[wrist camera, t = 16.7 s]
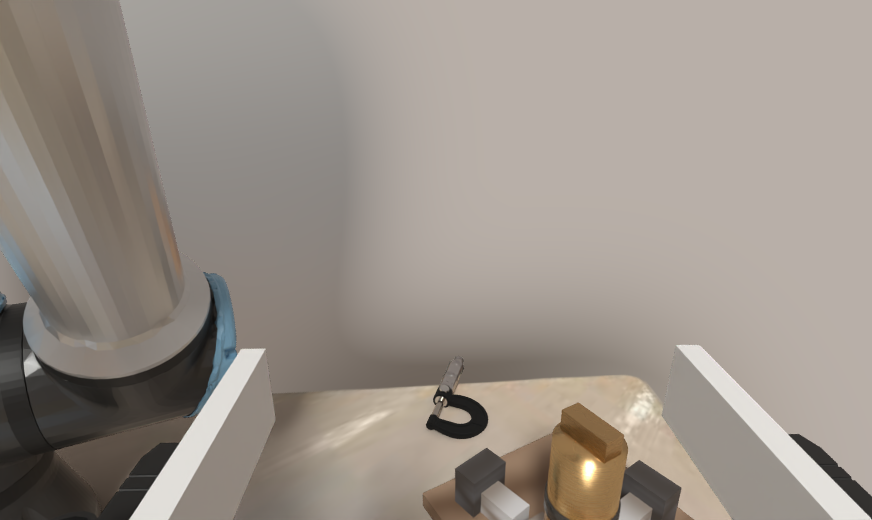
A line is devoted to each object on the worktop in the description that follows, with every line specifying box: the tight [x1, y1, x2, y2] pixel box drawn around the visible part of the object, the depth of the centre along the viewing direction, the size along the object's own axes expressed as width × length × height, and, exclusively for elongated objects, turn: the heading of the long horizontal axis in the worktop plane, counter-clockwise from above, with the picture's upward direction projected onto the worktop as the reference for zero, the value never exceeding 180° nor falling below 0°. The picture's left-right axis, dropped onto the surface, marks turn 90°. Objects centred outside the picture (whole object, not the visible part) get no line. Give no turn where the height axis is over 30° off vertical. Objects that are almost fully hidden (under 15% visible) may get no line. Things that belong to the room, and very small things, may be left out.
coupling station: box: [423, 433, 694, 520], centre depth 43 cm, size 20×19×5 cm
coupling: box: [544, 403, 628, 520], centre depth 36 cm, size 5×5×15 cm
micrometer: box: [426, 356, 488, 439], centre depth 62 cm, size 15×7×2 cm, turn 164°
